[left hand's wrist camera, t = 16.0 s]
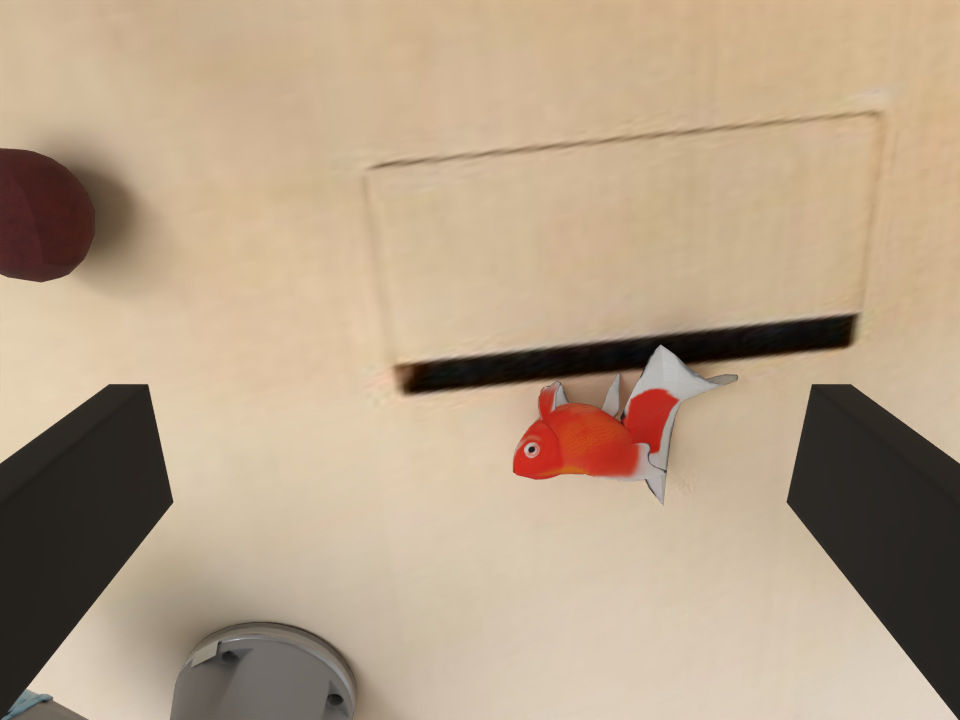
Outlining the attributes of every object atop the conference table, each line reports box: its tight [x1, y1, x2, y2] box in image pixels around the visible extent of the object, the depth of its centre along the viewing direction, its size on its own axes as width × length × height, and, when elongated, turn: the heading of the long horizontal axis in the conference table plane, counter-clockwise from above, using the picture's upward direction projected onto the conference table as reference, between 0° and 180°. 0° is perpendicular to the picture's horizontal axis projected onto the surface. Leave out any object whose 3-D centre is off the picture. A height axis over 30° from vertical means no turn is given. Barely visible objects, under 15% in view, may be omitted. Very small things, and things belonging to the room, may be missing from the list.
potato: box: [0, 148, 95, 282], centre depth 36 cm, size 7×8×7 cm
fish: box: [513, 345, 738, 505], centre depth 41 cm, size 11×16×10 cm
